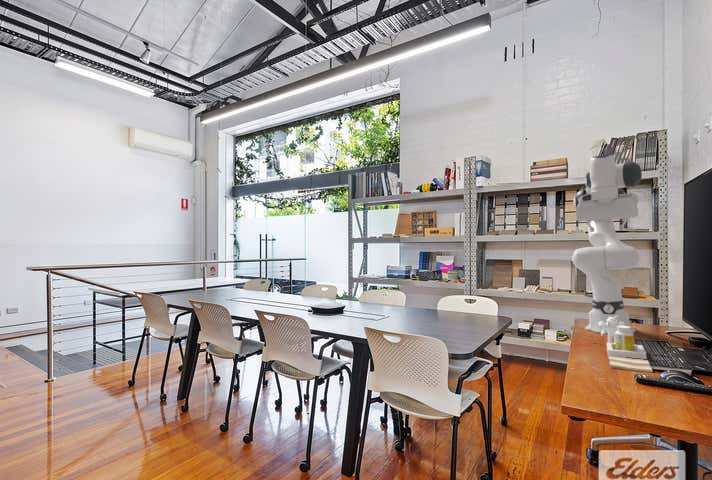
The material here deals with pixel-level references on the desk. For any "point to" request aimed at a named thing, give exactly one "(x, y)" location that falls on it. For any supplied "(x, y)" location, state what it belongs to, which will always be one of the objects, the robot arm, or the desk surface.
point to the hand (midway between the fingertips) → (606, 231)
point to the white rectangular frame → (626, 352)
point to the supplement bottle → (624, 339)
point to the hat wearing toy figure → (610, 327)
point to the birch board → (630, 364)
